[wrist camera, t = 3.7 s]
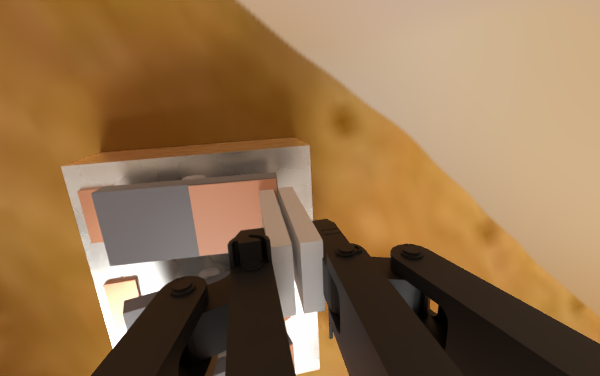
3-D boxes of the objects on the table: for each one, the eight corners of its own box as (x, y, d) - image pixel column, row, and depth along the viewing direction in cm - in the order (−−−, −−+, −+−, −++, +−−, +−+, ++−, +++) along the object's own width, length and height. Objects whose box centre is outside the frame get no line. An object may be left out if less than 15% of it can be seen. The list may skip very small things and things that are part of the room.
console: (149, 356, 26) (129, 416, 21) (99, 152, 21) (57, 167, 16) (305, 325, 29) (320, 372, 24) (294, 137, 24) (310, 145, 19)
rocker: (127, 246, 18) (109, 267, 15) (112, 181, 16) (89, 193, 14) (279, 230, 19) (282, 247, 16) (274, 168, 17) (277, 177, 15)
